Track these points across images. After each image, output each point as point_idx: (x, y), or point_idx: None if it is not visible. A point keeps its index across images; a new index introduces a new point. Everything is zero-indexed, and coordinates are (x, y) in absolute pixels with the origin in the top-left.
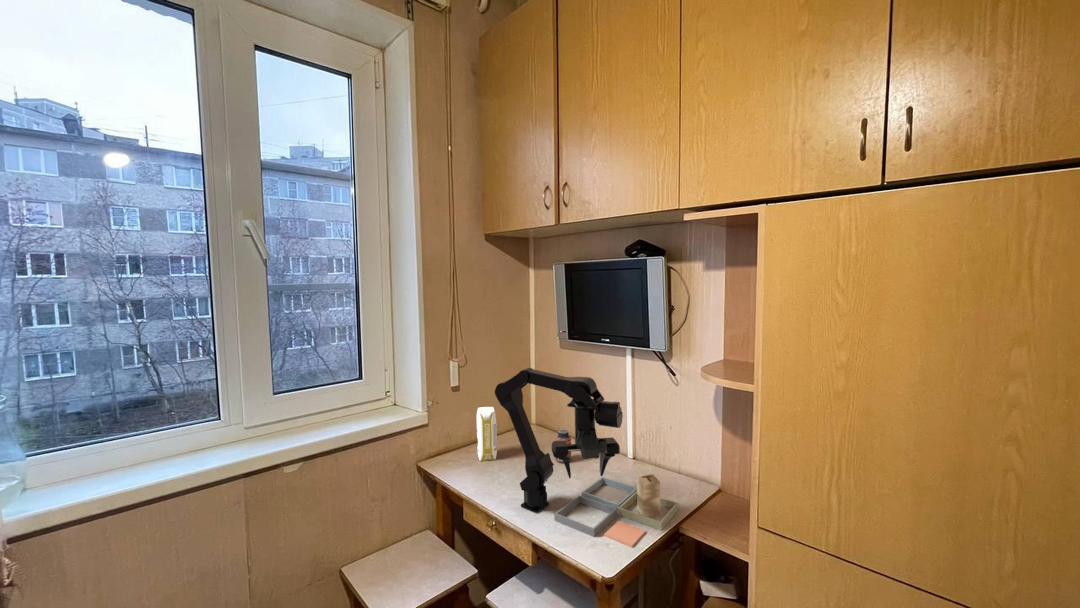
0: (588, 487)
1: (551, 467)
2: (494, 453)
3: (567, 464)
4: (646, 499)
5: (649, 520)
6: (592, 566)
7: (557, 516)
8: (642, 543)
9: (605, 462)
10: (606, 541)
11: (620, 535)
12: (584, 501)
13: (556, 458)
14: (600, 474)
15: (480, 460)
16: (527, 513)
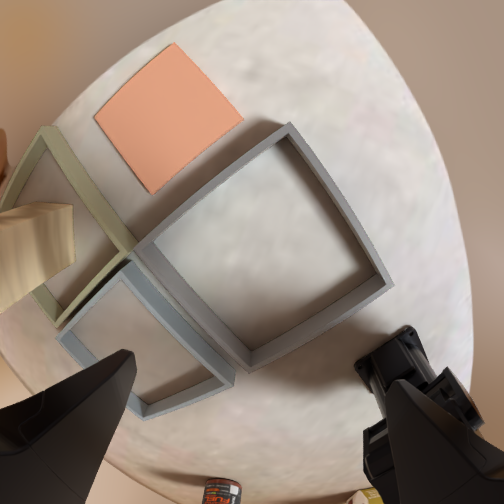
0: (199, 399)
1: (383, 468)
2: (362, 499)
3: (484, 454)
4: (23, 218)
5: (61, 152)
6: (345, 6)
7: (386, 271)
8: (134, 61)
9: (25, 415)
10: (250, 88)
11: (185, 98)
12: (237, 346)
13: (241, 490)
14: (133, 370)
15: None
16: (430, 329)
